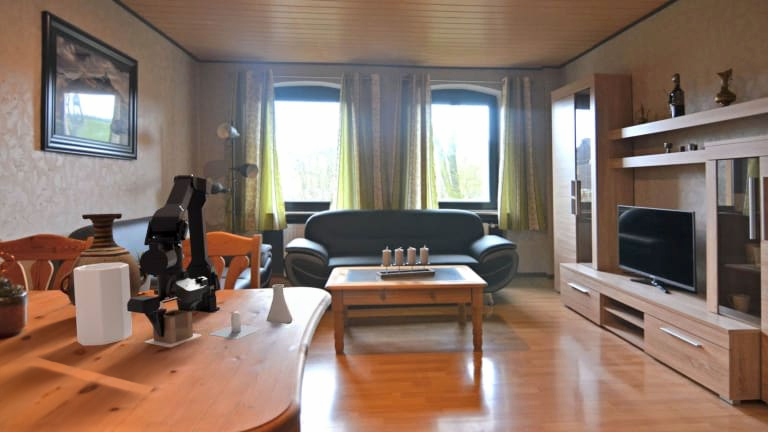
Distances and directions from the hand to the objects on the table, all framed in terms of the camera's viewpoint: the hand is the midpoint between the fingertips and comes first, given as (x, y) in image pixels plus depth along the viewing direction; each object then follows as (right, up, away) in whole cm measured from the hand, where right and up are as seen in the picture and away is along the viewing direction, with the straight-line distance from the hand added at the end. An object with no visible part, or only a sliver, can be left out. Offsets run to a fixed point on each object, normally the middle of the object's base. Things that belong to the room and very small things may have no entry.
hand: (173, 332), depth 107 cm
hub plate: (+13, -2, +5) cm, 14 cm away
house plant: (-36, 0, +55) cm, 66 cm away
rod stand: (0, -3, 0) cm, 2 cm away
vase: (-32, -2, +26) cm, 41 cm away
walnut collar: (0, -1, 0) cm, 1 cm away
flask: (+21, -1, +17) cm, 27 cm away
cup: (-17, -3, +2) cm, 17 cm away
